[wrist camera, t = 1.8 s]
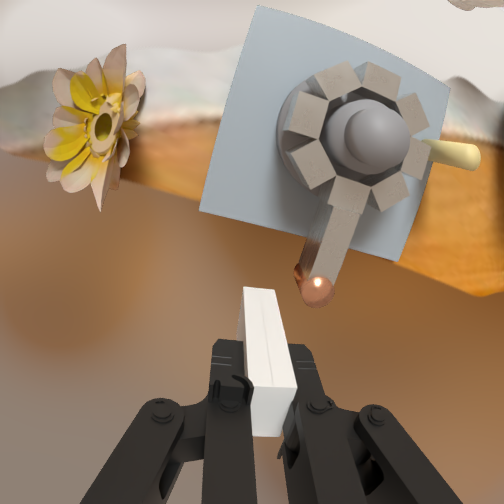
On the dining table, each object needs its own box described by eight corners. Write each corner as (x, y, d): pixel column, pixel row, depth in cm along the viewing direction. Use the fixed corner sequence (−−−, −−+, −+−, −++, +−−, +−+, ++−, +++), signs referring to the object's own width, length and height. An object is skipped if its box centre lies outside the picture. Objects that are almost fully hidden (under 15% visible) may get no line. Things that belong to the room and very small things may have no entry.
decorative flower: (72, 41, 22) (36, 25, 14) (168, 60, 26) (166, 46, 18) (39, 170, 28) (0, 201, 19) (127, 190, 32) (112, 227, 24)
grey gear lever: (304, 50, 22) (317, 36, 18) (422, 102, 24) (448, 100, 20) (241, 271, 29) (242, 293, 25) (356, 295, 31) (372, 318, 27)
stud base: (256, 10, 24) (266, -42, 14) (443, 88, 27) (506, 83, 17) (200, 207, 31) (183, 243, 21) (392, 257, 34) (440, 301, 24)
